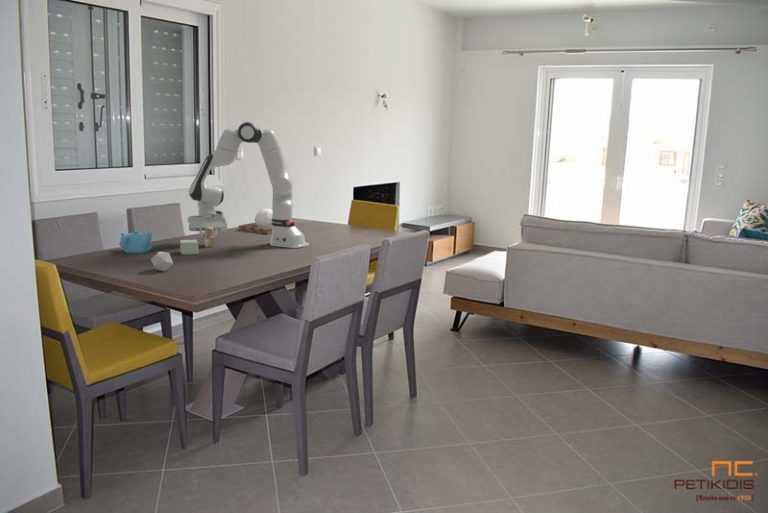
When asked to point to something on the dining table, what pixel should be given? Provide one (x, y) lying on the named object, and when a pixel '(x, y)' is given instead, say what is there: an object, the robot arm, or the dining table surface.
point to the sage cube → (188, 247)
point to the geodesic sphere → (264, 218)
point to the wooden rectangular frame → (254, 228)
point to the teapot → (135, 242)
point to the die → (162, 261)
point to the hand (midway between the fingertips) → (209, 236)
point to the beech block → (209, 236)
